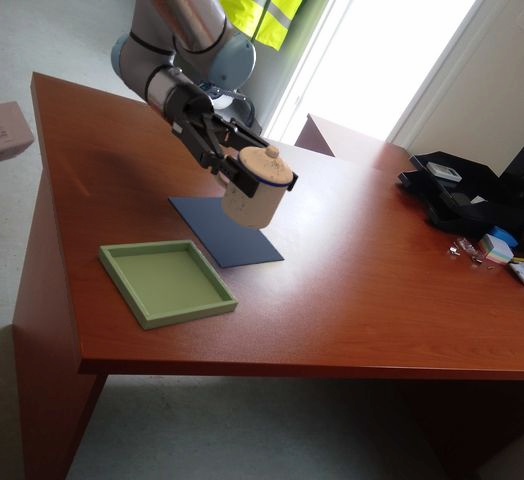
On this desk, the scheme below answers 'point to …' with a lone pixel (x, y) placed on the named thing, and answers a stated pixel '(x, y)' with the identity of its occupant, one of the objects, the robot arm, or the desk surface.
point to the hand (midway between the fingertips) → (275, 187)
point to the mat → (224, 233)
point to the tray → (166, 282)
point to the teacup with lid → (267, 194)
